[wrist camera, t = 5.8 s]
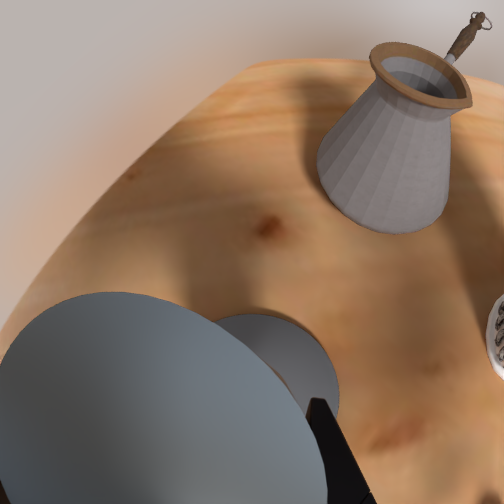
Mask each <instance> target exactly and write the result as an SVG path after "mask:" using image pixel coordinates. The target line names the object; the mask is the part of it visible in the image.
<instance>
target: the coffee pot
mask: <svg viewBox="0 0 504 504" xmlns="http://www.w3.org/2000/svg"><path fill="white" fill-rule="evenodd" d="M473 13H475V14H477V15H476V16H475V18H473V17H472V14H473ZM473 13H472V14H471V19H470V24H469V25H468V26H467V27H465V28H464V29H462V31H461V32H460V34H459V36H458V37H457V39H456V40H455V42H454V43H453V45H452V47H451V48H450V50H449V51H448V53H447V56H446V57H445V58H444V59H443V58H441V57H440V56H438V55H436V54H434V53H432V52H430V51H428V50H425V49H423V48H420V47H418V46H414V45H410V44H406V43H399V42H389V43H382V44H379V45H377V46H376V47H374V48H373V49H372V50H371V53H370V56H369V59H370V63H371V67H372V68H373V70H374V71H375V73H376V80H375V81H374V82H373V83H372V84H371V85H370V86H369V88H368V89H367V90H366V91H365V92H364V93H363V94H362V95H361V96H360V97H359V98H358V100H357V101H356V102H355V103H354V104H353V105H352V106H351V107H350V108H349V109H348V111H347V112H346V113H345V114H344V115H343V116H342V117H341V118H340V119H339V121H338V122H337V123H336V124H335V125H334V126H333V127H332V128H331V129H330V131H329V132H328V133H327V134H326V135H325V136H324V137H323V140H322V142H321V144H320V146H319V149H318V151H317V163H316V167H317V171H318V175H319V179H320V182H321V185H322V186H323V188H324V190H325V191H326V193H327V195H328V197H329V198H330V200H331V201H332V203H333V204H334V205H335V206H336V207H337V208H338V209H339V210H340V211H341V212H342V213H343V214H344V215H345V216H346V217H348V218H349V219H351V220H352V221H354V222H355V223H357V224H358V225H360V226H362V227H365V228H367V229H370V230H373V231H375V232H379V233H386V234H394V235H395V234H404V233H412V232H416V231H419V230H421V229H423V228H425V227H427V226H429V225H431V224H432V223H433V222H434V221H435V220H436V219H437V218H438V217H439V216H440V215H441V214H442V212H443V210H444V207H445V205H446V203H447V200H448V193H449V180H450V155H451V122H450V116H451V115H453V114H454V113H456V112H458V111H460V110H462V109H465V108H470V107H472V95H471V92H470V88H469V86H468V84H467V82H466V80H465V78H464V77H463V76H462V75H461V73H460V72H459V71H458V70H457V69H455V67H453V66H452V64H453V63H454V61H456V60H457V59H458V58H459V56H460V55H461V54H462V53H463V52H464V51H465V50H466V48H467V47H468V46H469V45H470V43H472V41H473V40H474V38H475V35H476V32H477V30H480V29H481V28H482V29H484V30H490V29H491V28H492V23H491V22H490V20H489V19H488V18H487V17H486V16H485V14H484V13H483V12H480V13H478V12H473ZM485 18H486V19H487V20H488V21H489V22H490V24H491V28H490V29H488V28H483V27H482V24H481V23H482V22H484V19H485Z"/></svg>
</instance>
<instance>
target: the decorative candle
mask: <svg viewBox="0 0 504 504" xmlns="http://www.w3.org/2000/svg"><path fill="white" fill-rule="evenodd" d="M486 345H487V355H488V357H489V360H490V362H491V365H492V367H493V370H494V371H495V372H496V373H497V374H498V375H499V377H500V378H501V379H502V380H503V381H504V294H503V295H502V296H501V297H500V298H499V299H497V300H496V301H495V303H494V306H493V308H492V310H491V312H490V314H489V316H488V323H487V329H486Z"/></svg>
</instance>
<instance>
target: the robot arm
mask: <svg viewBox="0 0 504 504" xmlns="http://www.w3.org/2000/svg"><path fill="white" fill-rule="evenodd" d="M305 418H306V420H307V422H308V424H309V426H310V428H311V430H312V432H313V434H314V437H315V439H316V442H317V445H318V448H319V451H320V454H321V457H322V461H323V464H324V470H325V476H326V483H327V504H377V503H376V501H375V499H374V497H373V495H372V493H371V492H370V489H369V487H368V485H367V482H366V480H365V478H364V476H363V474H362V472H361V470H360V468H359V466H358V464H357V462H356V460H355V458H354V456H353V454H352V452H351V450H350V448H349V446H348V444H347V442H346V439H345V437H344V435H343V433H342V431H341V429H340V427H339V425H338V423H337V421H336V419H335V417H334V415H333V413H332V411H331V409H330V407H329V405H328V403H327V401H326V399H324V398H317V397H312V398H311V399H310V402H309V405H308V409H307V412H306V416H305ZM369 492H370V493H369ZM0 504H11V503H10V501H9V499H8V497H7V495H6V492H5V490H4V488H3V485H2V483H1V480H0Z"/></svg>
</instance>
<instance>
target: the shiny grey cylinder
mask: <svg viewBox="0 0 504 504" xmlns="http://www.w3.org/2000/svg"><path fill="white" fill-rule="evenodd" d="M0 480H1V483H2V485H3V488H4V490H5V492H6V495H7V497H8V499H9V501H10V503H11V504H327V483H326V476H325V470H324V464H323V461H322V457H321V454H320V451H319V448H318V445H317V442H316V439H315V437H314V434H313V432H312V430H311V428H310V426H309V424H308V422H307V420H306V418H305V416H304V414H303V412H302V410H301V409H300V407H299V405H298V403H297V401H296V400H295V398H294V396H293V394H292V392H291V391H290V389H289V387H288V385H287V384H286V382H285V381H284V379H283V378H282V377H281V375H280V374H279V373H278V372H277V371H276V370H274V369H273V368H272V367H271V366H270V365H268V364H267V363H266V362H265V361H264V360H262V359H261V358H260V357H259V356H258V355H256V354H255V353H254V352H253V351H252V350H250V349H249V348H248V347H247V346H246V345H245V344H243V343H242V342H241V341H239V340H238V339H236V338H235V337H234V336H232V335H231V334H230V333H228V332H227V331H225V330H224V329H223V328H221V327H220V326H218V325H217V324H215V323H213V322H211V321H209V320H208V319H206V318H204V317H202V316H201V315H199V314H197V313H195V312H193V311H191V310H188V309H186V308H184V307H181V306H179V305H176V304H174V303H172V302H169V301H165V300H162V299H158V298H154V297H151V296H147V295H141V294H134V293H127V292H99V293H93V294H86V295H81V296H78V297H75V298H71V299H68V300H65V301H63V302H61V303H59V304H57V305H55V306H53V307H51V308H49V309H47V310H46V311H44V312H43V313H41V314H40V315H39V316H37V317H36V318H34V319H33V320H32V321H31V322H30V323H29V324H28V325H27V326H26V327H25V328H24V329H23V330H22V331H21V332H20V333H19V335H18V336H17V337H16V339H15V340H14V341H13V343H12V344H11V345H10V347H9V349H8V351H7V353H6V354H5V356H4V358H3V360H2V362H1V365H0Z"/></svg>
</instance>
